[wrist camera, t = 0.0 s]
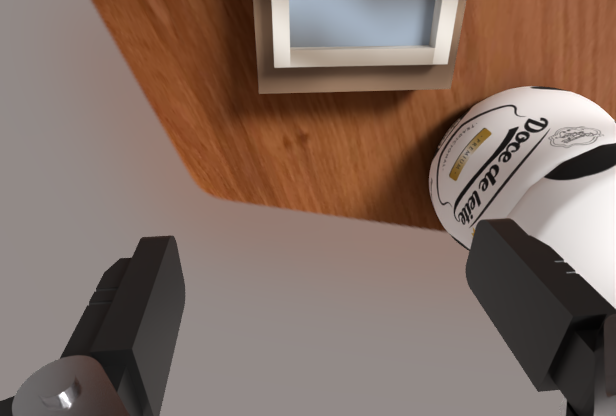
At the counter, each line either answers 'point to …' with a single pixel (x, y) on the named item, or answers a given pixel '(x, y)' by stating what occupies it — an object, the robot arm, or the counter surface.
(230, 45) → the counter surface
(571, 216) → the milk container
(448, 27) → the wooden box
